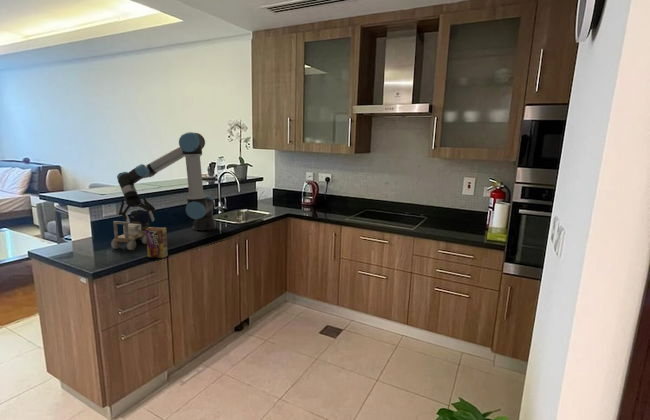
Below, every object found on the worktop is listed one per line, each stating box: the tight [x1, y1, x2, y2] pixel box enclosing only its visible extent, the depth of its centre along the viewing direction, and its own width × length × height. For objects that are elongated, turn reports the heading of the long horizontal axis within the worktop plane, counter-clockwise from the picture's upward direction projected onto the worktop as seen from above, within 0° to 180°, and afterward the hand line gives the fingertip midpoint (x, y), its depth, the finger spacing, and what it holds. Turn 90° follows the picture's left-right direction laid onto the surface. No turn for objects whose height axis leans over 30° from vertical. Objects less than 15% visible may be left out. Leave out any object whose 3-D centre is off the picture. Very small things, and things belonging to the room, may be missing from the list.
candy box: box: [146, 226, 169, 259], centre depth 178 cm, size 9×4×15 cm, turn 86°
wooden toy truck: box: [110, 220, 147, 251], centre depth 193 cm, size 18×11×16 cm, turn 172°
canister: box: [130, 209, 150, 241], centre depth 208 cm, size 10×10×18 cm
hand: (141, 222), depth 206 cm, fingers open, 13 cm apart
